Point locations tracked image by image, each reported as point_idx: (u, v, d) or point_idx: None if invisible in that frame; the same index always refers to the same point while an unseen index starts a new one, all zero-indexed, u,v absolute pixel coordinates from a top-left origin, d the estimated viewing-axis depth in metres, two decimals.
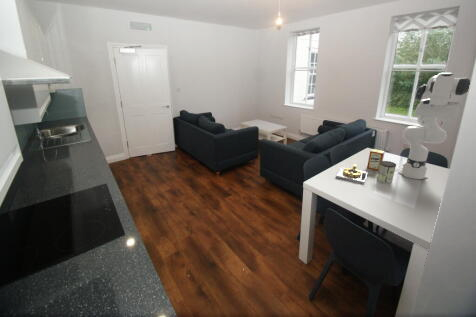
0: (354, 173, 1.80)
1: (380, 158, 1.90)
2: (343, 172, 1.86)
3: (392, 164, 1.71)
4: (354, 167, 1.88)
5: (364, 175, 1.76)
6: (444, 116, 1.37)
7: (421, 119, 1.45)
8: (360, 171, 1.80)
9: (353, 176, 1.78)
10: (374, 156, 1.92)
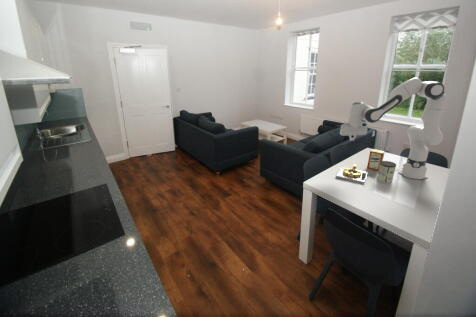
0: (354, 173, 1.80)
1: (380, 158, 1.90)
2: (343, 172, 1.86)
3: (392, 164, 1.71)
4: (354, 167, 1.88)
5: (364, 175, 1.76)
6: None
7: (354, 137, 1.84)
8: (360, 171, 1.80)
9: (353, 176, 1.78)
10: (374, 156, 1.92)
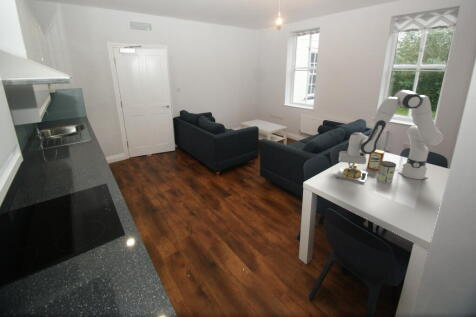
0: (354, 173, 1.80)
1: (380, 158, 1.90)
2: (343, 172, 1.86)
3: (392, 164, 1.71)
4: (354, 167, 1.88)
5: (364, 175, 1.76)
6: None
7: None
8: (360, 171, 1.80)
9: (353, 176, 1.78)
10: (374, 156, 1.92)
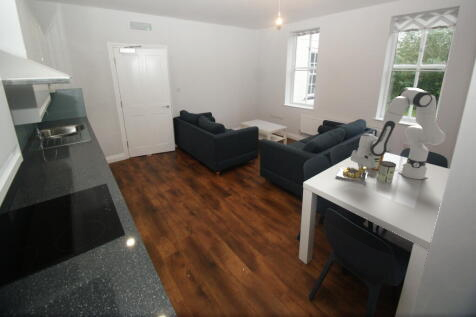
0: None
1: (380, 158, 1.90)
2: None
3: (392, 164, 1.71)
4: (359, 169, 1.84)
5: (364, 175, 1.76)
6: None
7: None
8: (357, 172, 1.78)
9: (346, 174, 1.81)
10: None
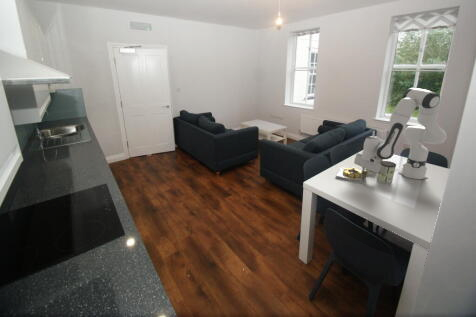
0: (347, 171, 1.84)
1: None
2: None
3: (392, 164, 1.71)
4: (361, 171, 1.80)
5: (364, 175, 1.76)
6: None
7: (368, 170, 1.79)
8: (351, 172, 1.79)
9: (343, 171, 1.86)
10: None
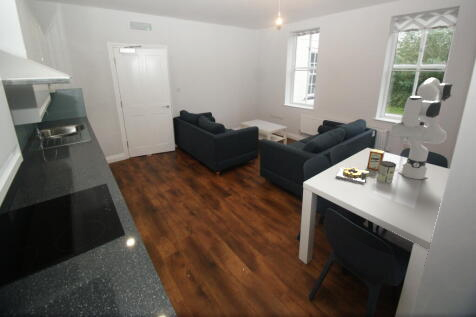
0: (347, 171, 1.84)
1: (380, 158, 1.90)
2: None
3: (392, 164, 1.71)
4: (361, 171, 1.80)
5: (364, 175, 1.76)
6: None
7: None
8: (351, 172, 1.79)
9: (343, 171, 1.86)
10: (374, 156, 1.92)
